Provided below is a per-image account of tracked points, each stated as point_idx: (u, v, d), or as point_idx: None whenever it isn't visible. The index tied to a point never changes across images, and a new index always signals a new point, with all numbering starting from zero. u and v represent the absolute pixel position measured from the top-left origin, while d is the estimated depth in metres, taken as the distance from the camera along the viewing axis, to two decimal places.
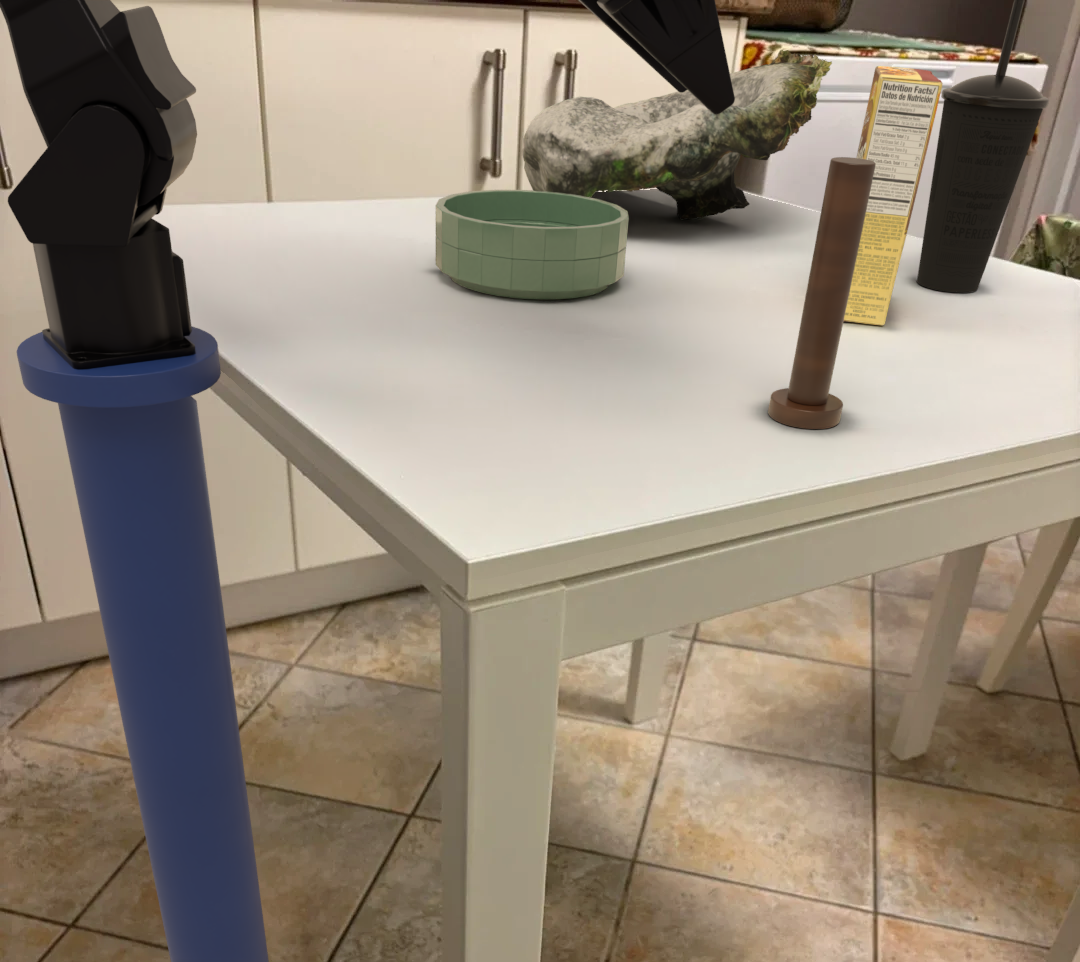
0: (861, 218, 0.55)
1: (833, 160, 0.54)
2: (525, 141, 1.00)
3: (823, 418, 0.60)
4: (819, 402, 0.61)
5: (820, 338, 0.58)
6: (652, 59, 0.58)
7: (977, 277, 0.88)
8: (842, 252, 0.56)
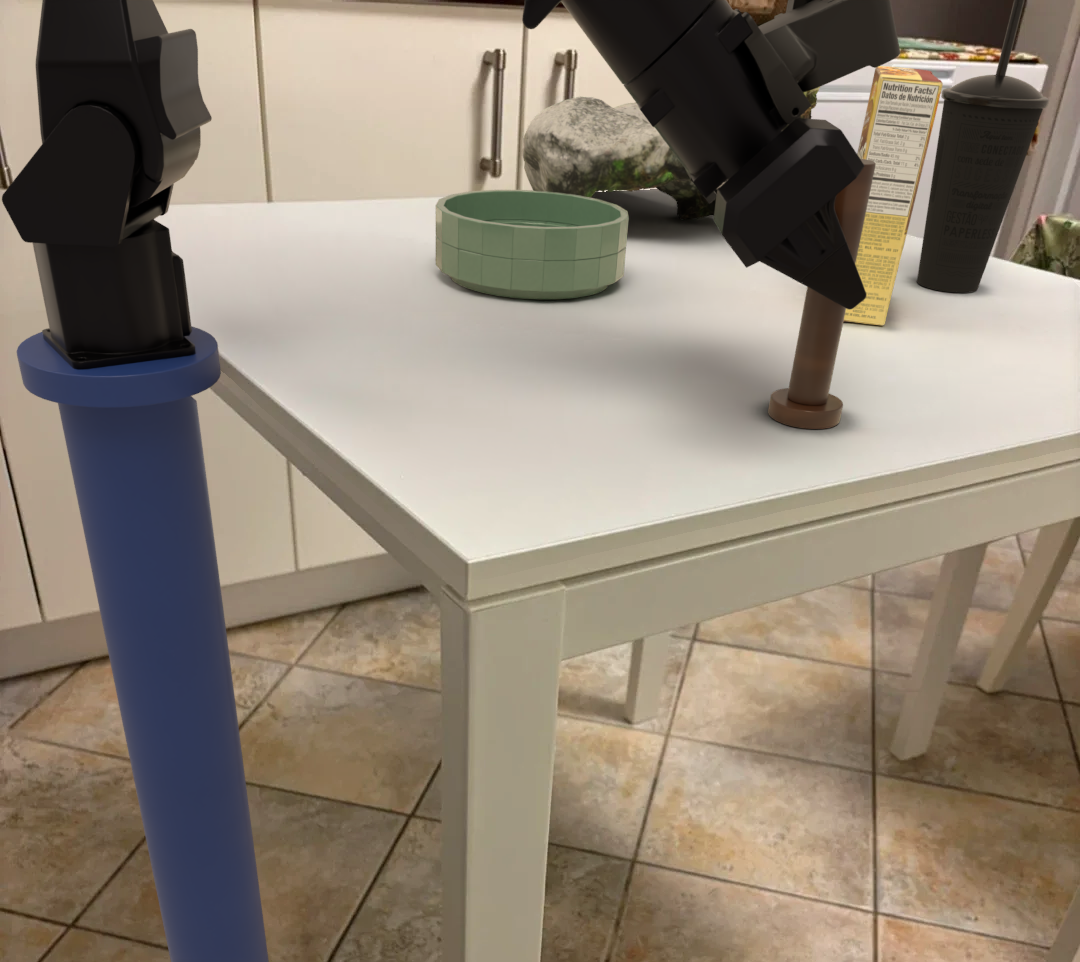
0: (861, 218, 0.55)
1: None
2: (525, 141, 1.00)
3: (823, 418, 0.60)
4: (819, 402, 0.61)
5: (820, 338, 0.58)
6: None
7: (977, 277, 0.88)
8: None
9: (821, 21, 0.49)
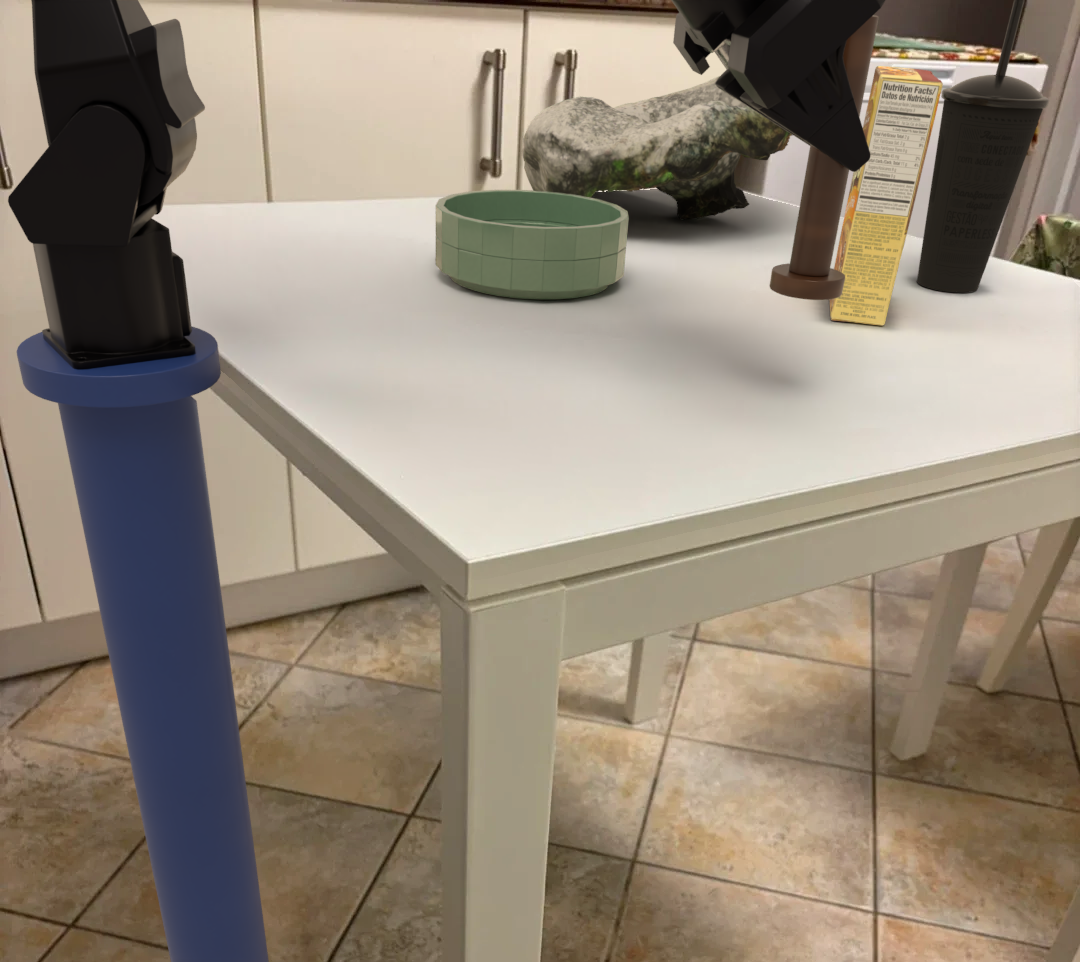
0: (865, 75, 0.55)
1: None
2: (525, 141, 1.00)
3: (828, 288, 0.60)
4: (822, 273, 0.60)
5: (824, 204, 0.58)
6: None
7: (977, 277, 0.88)
8: None
9: None
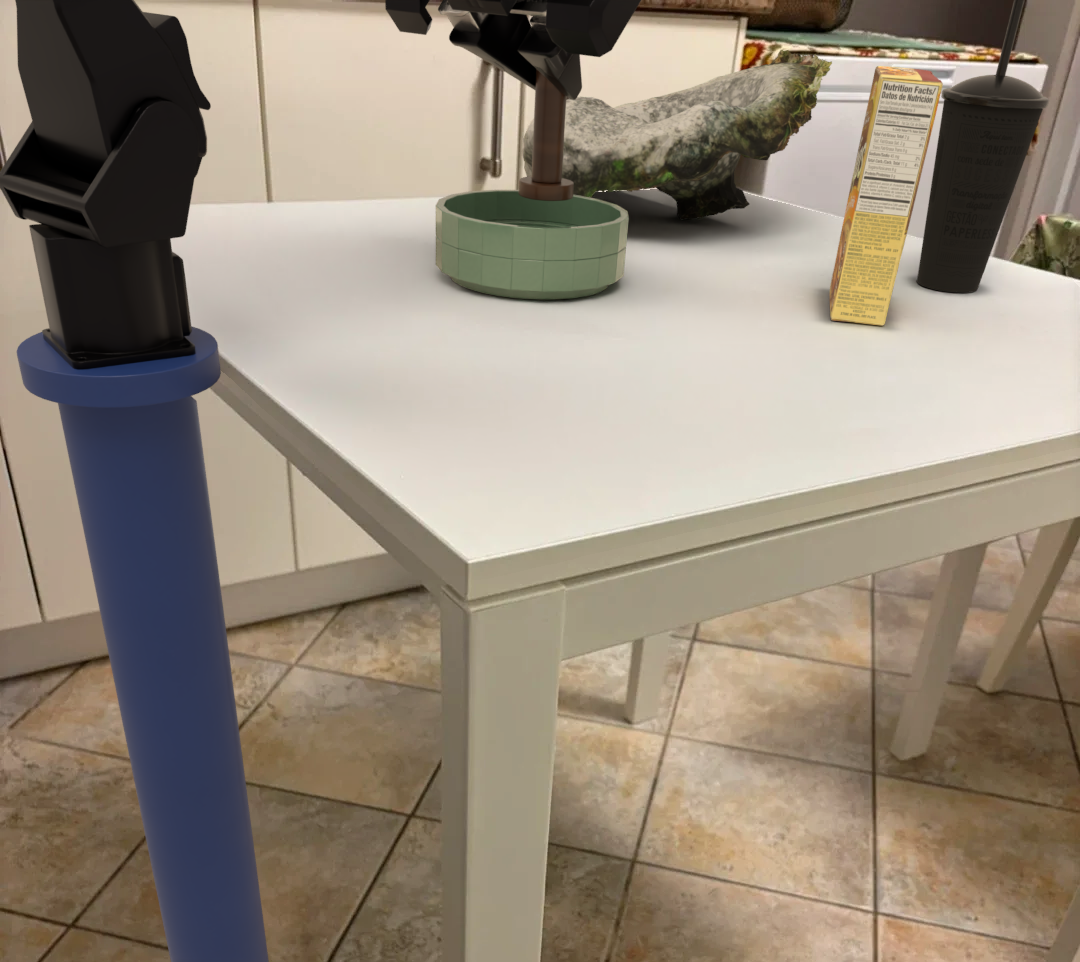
0: None
1: None
2: (525, 141, 1.00)
3: (571, 190, 0.80)
4: (561, 179, 0.80)
5: (559, 126, 0.77)
6: (529, 78, 0.76)
7: (977, 277, 0.88)
8: None
9: None
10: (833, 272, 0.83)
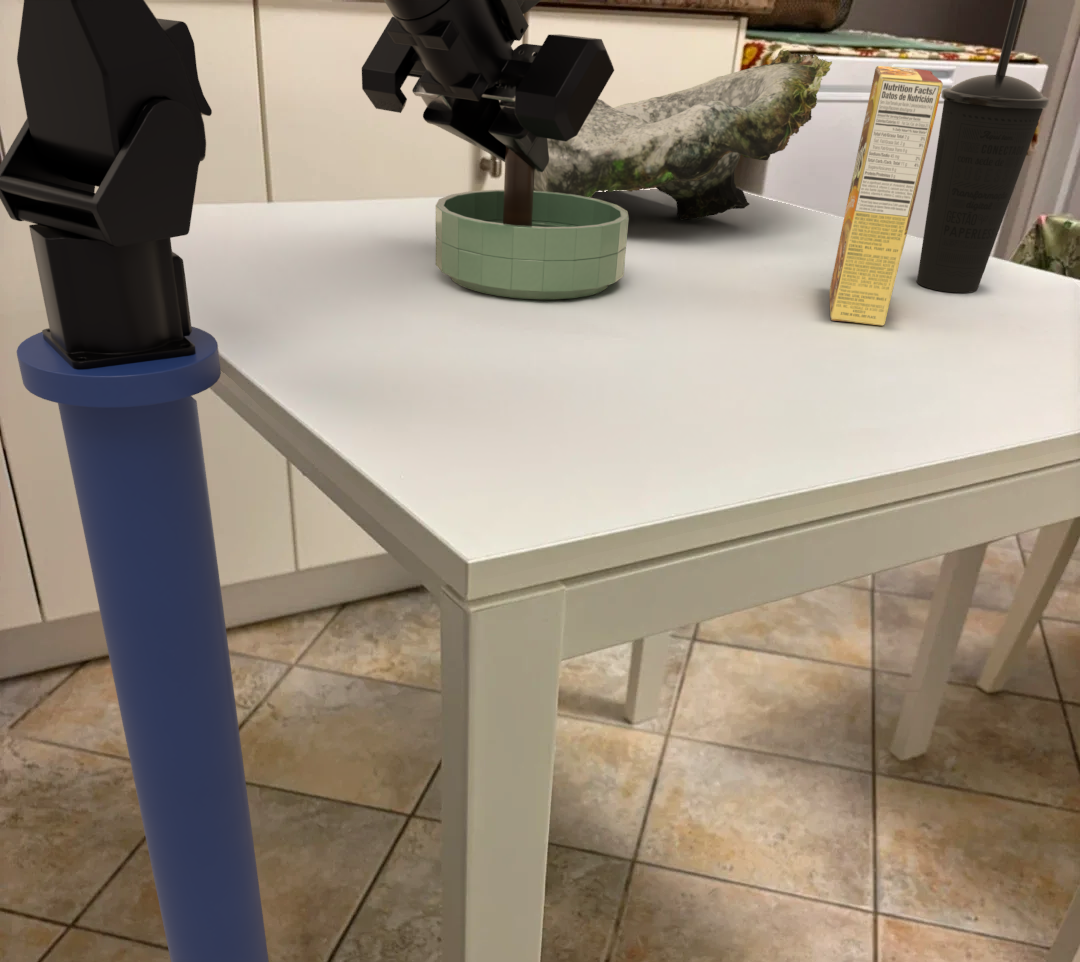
0: None
1: None
2: None
3: None
4: None
5: (528, 196, 0.82)
6: (499, 151, 0.81)
7: (977, 277, 0.88)
8: None
9: None
10: (833, 272, 0.83)
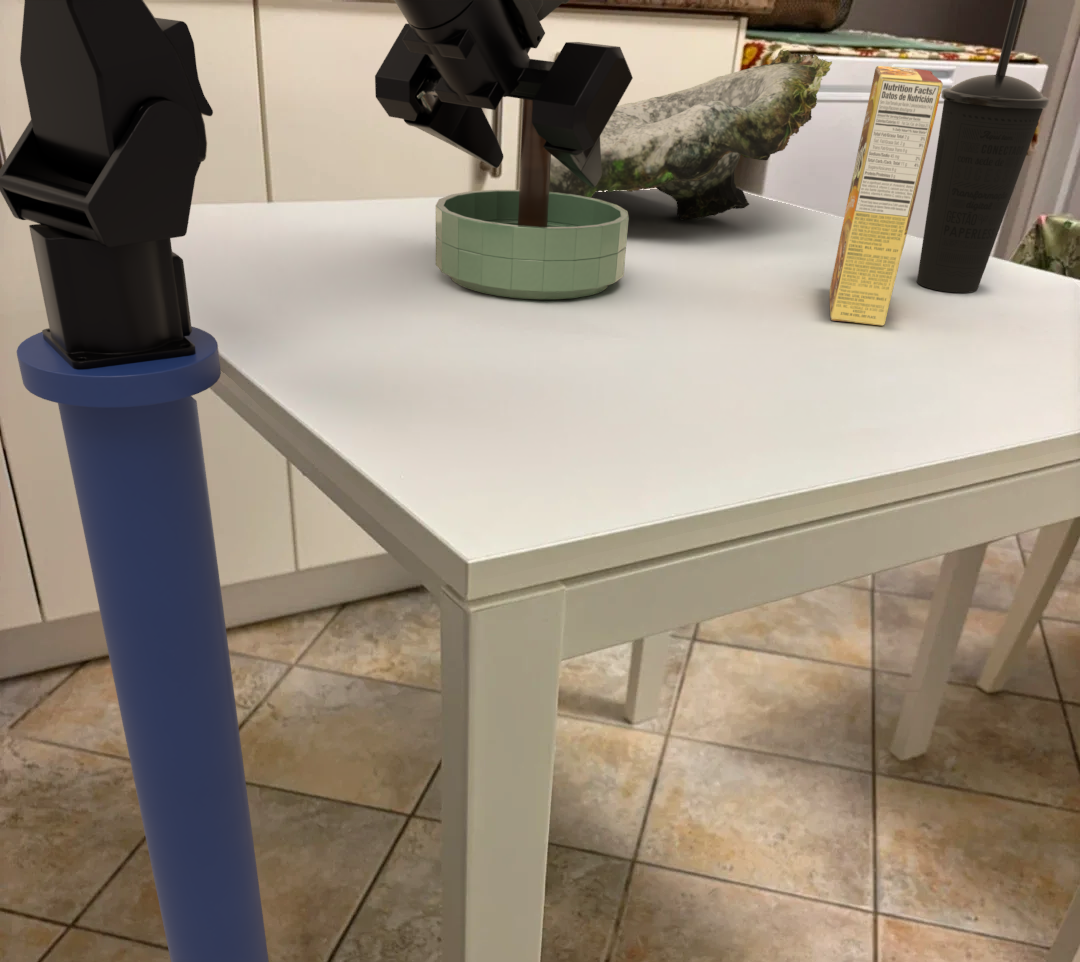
0: None
1: None
2: None
3: None
4: None
5: (543, 204, 0.81)
6: (480, 153, 0.81)
7: (977, 277, 0.88)
8: None
9: None
10: (833, 272, 0.83)
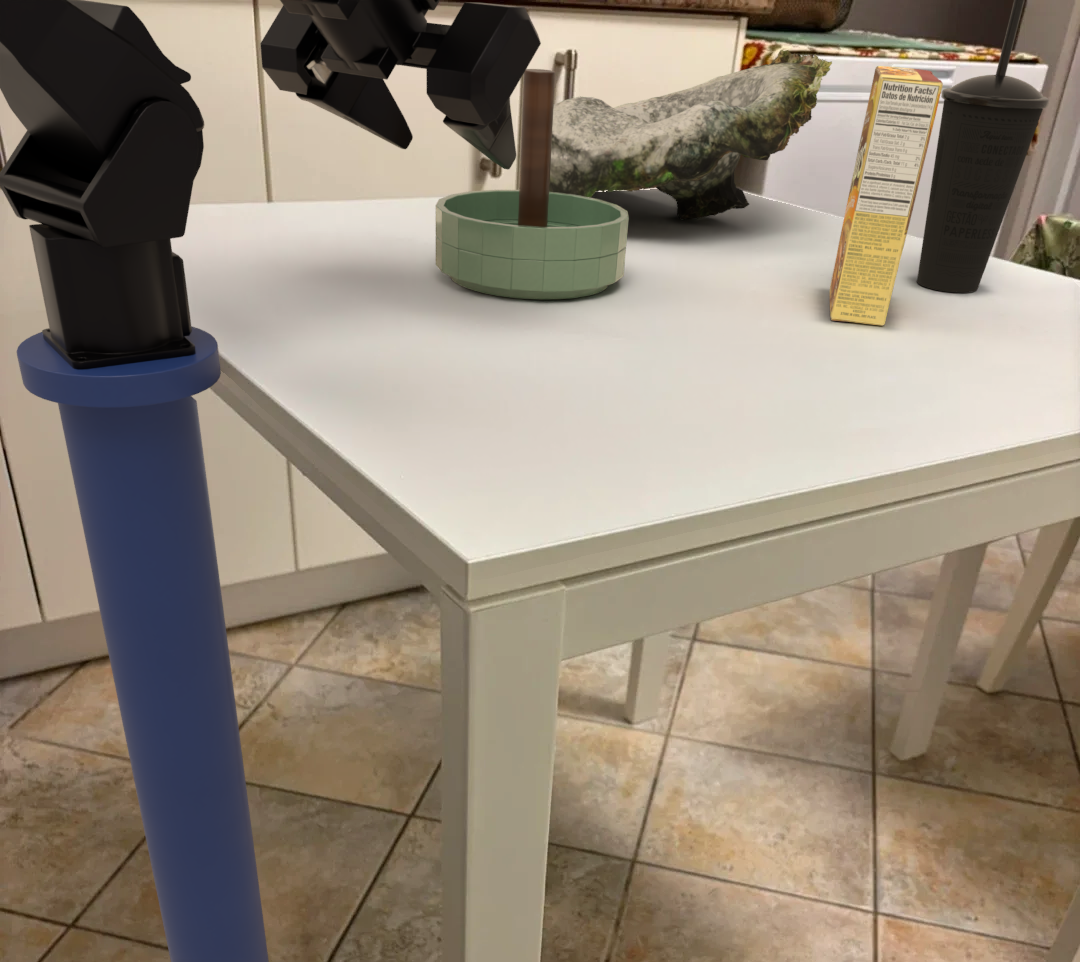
0: None
1: (532, 71, 0.76)
2: None
3: None
4: None
5: (543, 204, 0.81)
6: (384, 132, 0.73)
7: (977, 277, 0.88)
8: (549, 137, 0.78)
9: None
10: (833, 272, 0.83)
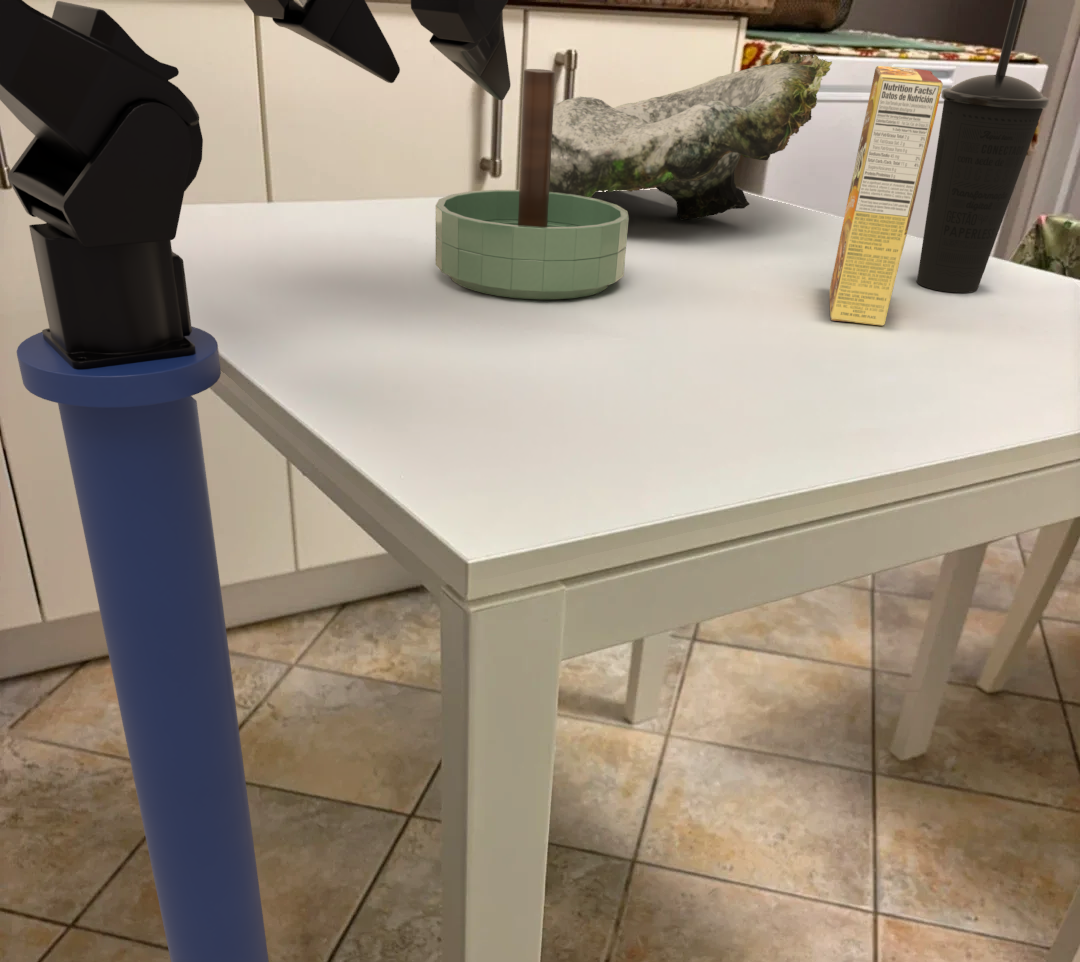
0: None
1: (532, 71, 0.76)
2: None
3: None
4: None
5: (543, 204, 0.81)
6: (369, 62, 0.68)
7: (977, 277, 0.88)
8: (549, 137, 0.78)
9: None
10: (833, 272, 0.83)
